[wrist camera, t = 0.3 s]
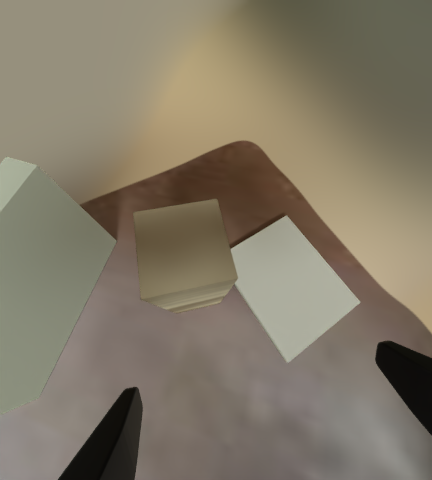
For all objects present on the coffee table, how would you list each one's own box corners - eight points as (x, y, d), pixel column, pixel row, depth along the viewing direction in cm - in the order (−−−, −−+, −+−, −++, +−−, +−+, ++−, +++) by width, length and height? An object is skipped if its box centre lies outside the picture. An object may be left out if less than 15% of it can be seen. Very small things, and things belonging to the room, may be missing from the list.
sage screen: (116, 241, 23) (37, 164, 12) (38, 398, 18) (-245, 523, 6) (100, 236, 23) (6, 156, 12) (17, 391, 18) (-297, 502, 7)
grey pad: (356, 302, 22) (360, 302, 21) (285, 361, 20) (288, 363, 19) (284, 217, 26) (286, 215, 25) (216, 258, 23) (217, 257, 23)
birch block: (219, 303, 21) (238, 278, 10) (173, 314, 21) (133, 301, 9) (210, 262, 23) (216, 198, 11) (167, 271, 22) (127, 213, 11)
